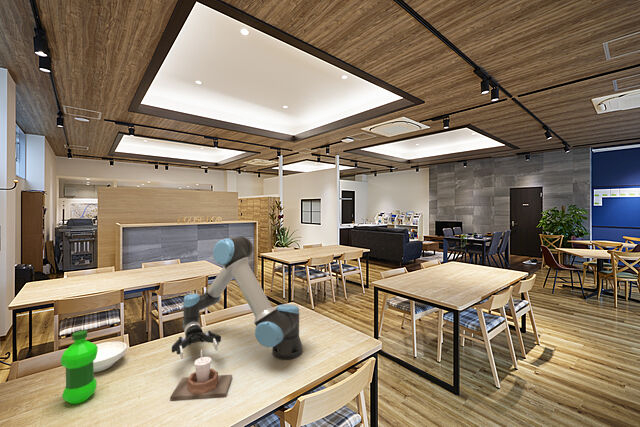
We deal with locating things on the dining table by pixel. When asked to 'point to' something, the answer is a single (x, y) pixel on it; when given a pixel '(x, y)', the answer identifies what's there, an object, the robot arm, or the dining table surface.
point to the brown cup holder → (202, 387)
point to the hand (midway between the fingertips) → (199, 351)
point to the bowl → (108, 354)
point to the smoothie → (202, 368)
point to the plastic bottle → (79, 369)
